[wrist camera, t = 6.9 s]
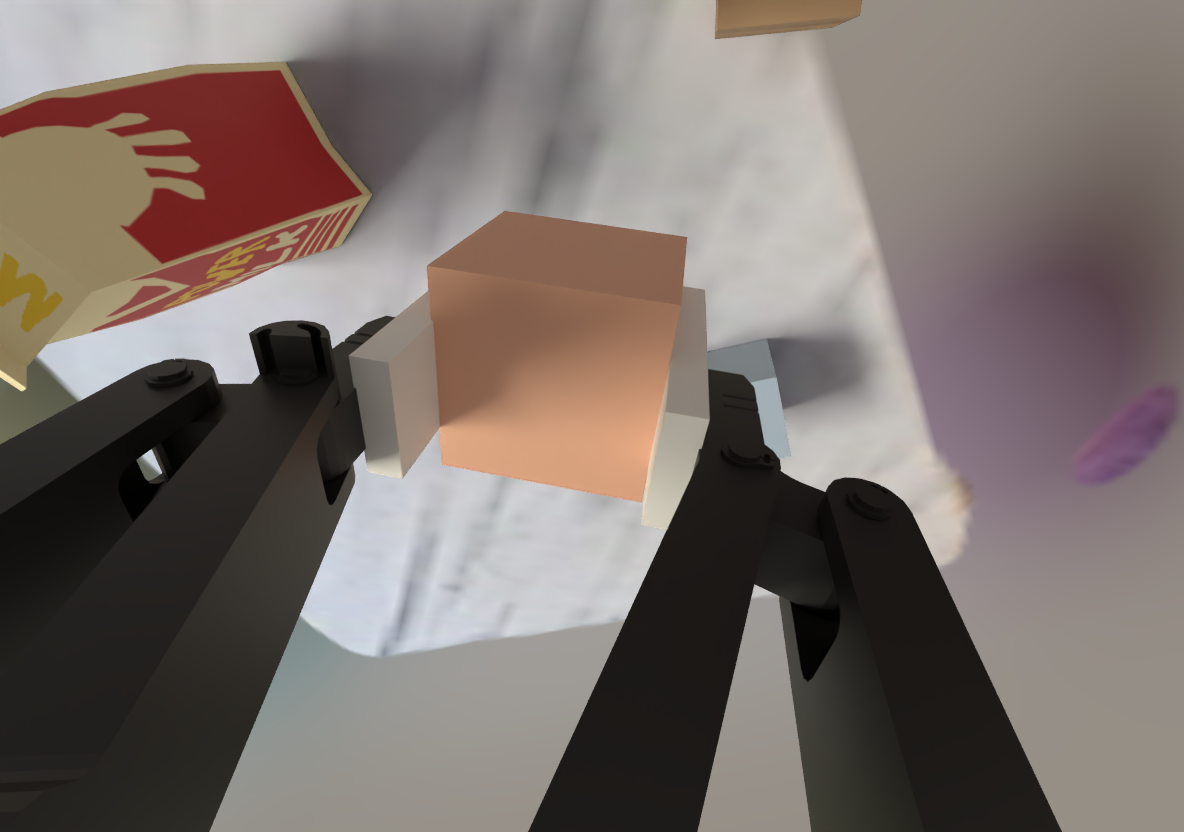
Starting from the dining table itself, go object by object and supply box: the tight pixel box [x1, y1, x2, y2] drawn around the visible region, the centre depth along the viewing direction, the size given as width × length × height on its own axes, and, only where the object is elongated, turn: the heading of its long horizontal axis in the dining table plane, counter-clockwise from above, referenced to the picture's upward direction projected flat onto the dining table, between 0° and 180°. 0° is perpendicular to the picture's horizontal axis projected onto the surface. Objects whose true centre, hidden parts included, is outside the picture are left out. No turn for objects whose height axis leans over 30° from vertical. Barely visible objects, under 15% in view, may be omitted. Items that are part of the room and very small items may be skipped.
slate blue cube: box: [707, 339, 791, 458], centre depth 31 cm, size 5×5×5 cm
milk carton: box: [0, 62, 372, 391], centre depth 23 cm, size 9×9×20 cm
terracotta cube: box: [427, 211, 687, 502], centre depth 14 cm, size 5×5×5 cm
